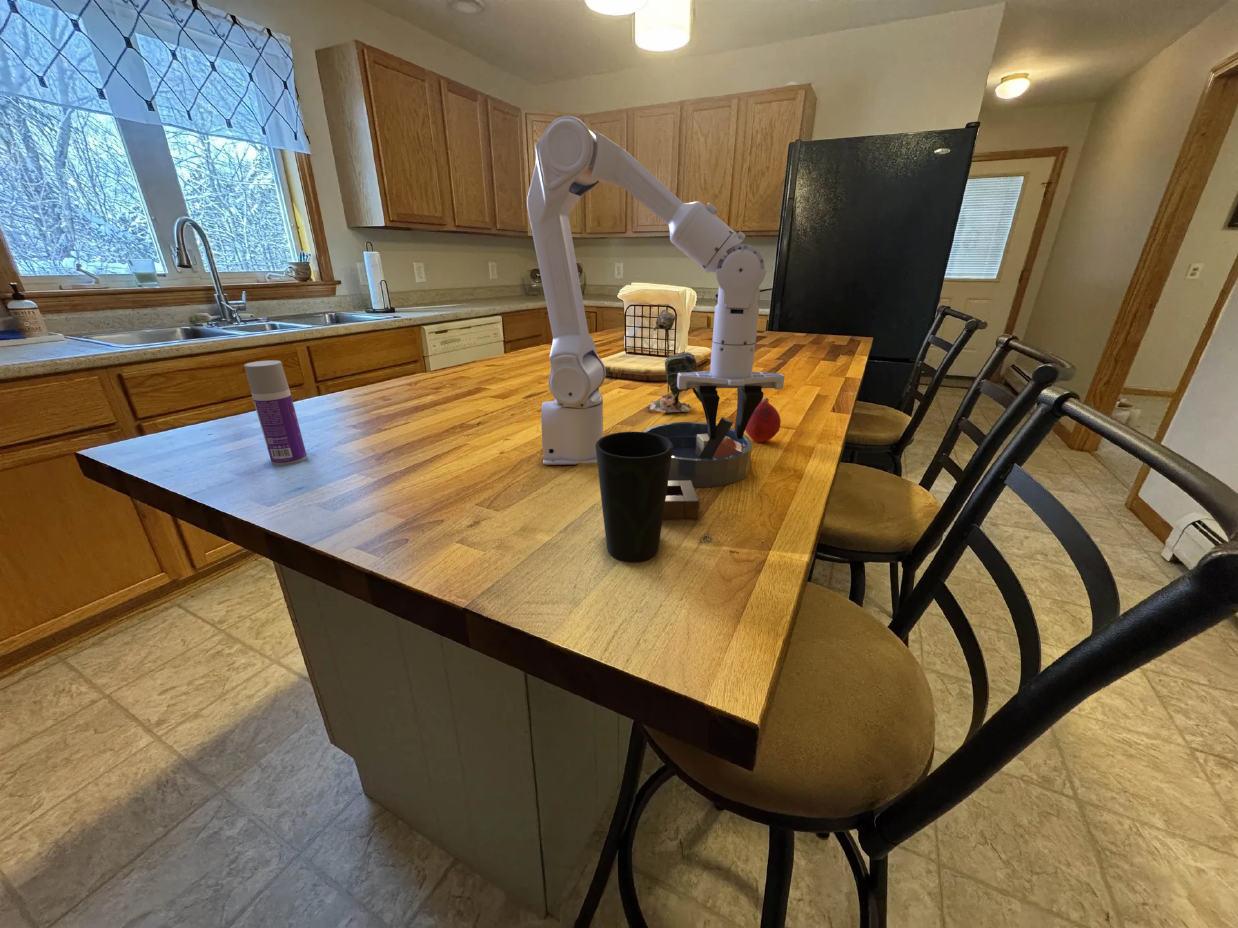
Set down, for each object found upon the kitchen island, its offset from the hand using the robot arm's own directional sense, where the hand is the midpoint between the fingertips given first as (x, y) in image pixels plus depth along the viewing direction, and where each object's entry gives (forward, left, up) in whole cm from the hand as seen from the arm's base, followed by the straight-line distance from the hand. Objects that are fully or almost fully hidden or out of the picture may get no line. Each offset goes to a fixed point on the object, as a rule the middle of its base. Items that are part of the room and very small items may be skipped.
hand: (724, 436), depth 72 cm
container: (-66, +4, -5) cm, 67 cm away
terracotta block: (0, -1, -3) cm, 4 cm away
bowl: (-4, 0, -5) cm, 7 cm away
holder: (-9, -14, -5) cm, 17 cm away
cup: (-14, -22, -5) cm, 27 cm away
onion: (+9, +10, -5) cm, 14 cm away
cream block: (-1, +3, -4) cm, 6 cm away
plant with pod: (-3, +30, -5) cm, 31 cm away
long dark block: (-3, 0, -4) cm, 5 cm away
